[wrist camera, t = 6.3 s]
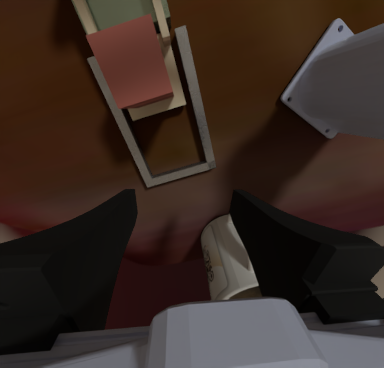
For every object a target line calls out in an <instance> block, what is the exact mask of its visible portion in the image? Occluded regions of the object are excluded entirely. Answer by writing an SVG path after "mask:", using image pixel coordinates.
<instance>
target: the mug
mask: <svg viewBox="0 0 384 368" xmlns="http://www.w3.org/2000/svg"><path fill="white" fill-rule="evenodd" d="M201 245H202V250H203V256H204V261H205V267H206V272H207V278H208V283H209V289H210V294H211V300H227V299H241V298H255V297H262V295H261V292H260V288H259V285H258V282H257V279H256V276H255V273H254V270H253V267H252V264H251V262H250V259H249V256H248V254H247V251H246V249H245V247H244V245H243V243H242V241H241V239H240V237H239V235H238V233H237V231H236V229H235V227H234V225H233V222H232V219H231V216H230V213H229V214H228V215H224V216H221V217H218V218H216V219H214V220H213V221H211V222H210V223H209V224H208V225H207V226H206V227H205V229H204V230H203V232H202V235H201Z"/></svg>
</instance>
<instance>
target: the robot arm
mask: <svg viewBox="0 0 384 368" xmlns="http://www.w3.org/2000/svg"><path fill="white" fill-rule="evenodd" d="M338 28H339V32H338ZM288 98H290V100H289V101H287V99H288ZM280 99H281V101H282V102H283V103H284V104H285V105H287V106H288V107H289V108H290V109H292V110H293V111H294V112H295V113H297V114H298V115H299V116H300V117H302V118H303V119H304V120H305V121H307V122H308V123H309V124H310V125H312V126H313V127H314V128H315V129H317V130H318V131H319V132H320V133H322V134H323V135H324V136H325V137H327V138H330V139H331V138H333V137H334V136H335V135H336V134H337V133H338V132H340V133H346V134H352V135H358V136H365V137H371V138H377V139H383V140H384V23H383V24H381V25H378V26H376V27H373V28H371V29H368V30H366V31H363V32H361V33H358V34H356V35H354V34H353V33H352V32H351V30H350V29H349V28H348V27H347V26H346V24H345V23H344V22H343V21H342V20H341V19H340V18H338V19H336V20H334V21H333V22H332V23H331V24H330V26H329V27H328V29H327V30H326V31H325V33H324V34H323V36H322V37H321V39H320V40H319V42H318V43H317V44H316V46H315V47H314V49H313V50H312V52H311V53H310V55H309V56H308V57H307V59H306V60H305V62H304V63H303V65H302V66H301V68H300V69H299V70H298V72H297V73H296V75H295V76H294V78H293V79H292V80H291V82H290V83H289V85H288V86H287V88H286V89H285V91H284V92H283V93H282V95H281V98H280ZM326 129H327V131H326ZM325 131H326V132H325ZM229 213H230V216H231V219H232V222H233V225H234V227H235V229H236V231H237V233H238V235H239V237H240V239H241V241H242V243H243V245H244V247H245V249H246V251H247V254H248V256H249V259H250V262H251V264H252V267H253V270H254V273H255V276H256V279H257V282H258V285H259V288H260V292H261V295H262V297H255V298H241V299H227V300H212V301H198V302H187V303H182V304H178V305H173V306H169V307H168V308H166V309H164V310H163V311H161V312H160V313H158V314H157V315H156V316H155V317H154V318H153V320H152V323H151V325H150V326H146V327H133V328H122V329H110V330H104V329H105V324H106V319H107V315H108V310H109V306H110V301H111V298H112V293H113V289H114V286H115V282H116V278H117V274H118V270H119V267H120V263H121V260H122V257H123V254H124V251H125V249H126V246H127V244H128V241H129V239H130V236H131V234H132V231H133V228H134V226H135V222H136V218H137V214H138V212H137V204H136V196H135V189H125V190H123V191H121V192H120V193H118V194H117V195H115V196H114V197H112V198H110V199H109V200H107V201H106V202H104V203H102V204H101V205H99V206H97V207H95V208H94V209H92V210H90V211H88V212H86V213H84V214H82V215H80V216H78V217H76V218H74V219H72V220H69V221H67V222H64V223H62V224H59V225H57V226H54V227H52V228H49V229H46V230H43V231H40V232H38V233H35V234H31V235H28V236H25V237H22V238H19V239H15V240H11V241H8V242H4V243H0V368H384V298H383V299H382V298H381V297H380V296H379V295H378V294H377V293H375V291H377V290H378V288H377V286H376V285H375V284H373V283H372V282H371V281H370V280H371V279H372V278H373V277H374V275H375V274H376V273H377V272H378V271H379V270H380V269H381V268H382V267H383V265H384V248H383V247H382V246H380V245H379V244H377V243H376V242H375V241H373V240H371V239H370V238H368V237H365V236H361V235H356V234H352V233H348V232H344V231H339V230H336V229H332V228H328V227H325V226H321V225H318V224H315V223H312V222H309V221H306V220H303V219H300V218H298V217H295V216H293V215H290V214H288V213H286V212H283V211H281V210H279V209H277V208H275V207H273V206H271V205H269V204H267V203H265V202H264V201H262V200H260V199H258V198H257V197H255V196H253V195H251V194H249V193H248V192H246V191H244V190H234V191H233V196H232V201H231V206H230V211H229Z"/></svg>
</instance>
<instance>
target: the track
mask: <svg viewBox="0 0 384 368" xmlns="http://www.w3.org/2000/svg"><path fill="white" fill-rule="evenodd" d="M71 1H72V3H73V5H74V7H75V10H76V12H77V14H78V16H79V19H80V21H81V23H82V25H83V28H84V30H85V32H86V34H87V35H88V33H87V30H86V28H85V26H84V23H83V21H82V19H81V17H80V14H79V12H78V10H77V8H76V5H75V3H74V1H73V0H71ZM85 1H86V3H87V5H88V8H89V10H90V13H91V15H92V17H93V20H94V22H95V25H96V27H97V30H98V31H101V30H104V29H107V28H109V27H112V26H115V25H118V24H121V23H124V22H127V21H130V20H133V19H136V18H139V17H142V16H145V15H148V14H151V17H152V20H153V24H154V27H155V31H156V32H159V31H160V28H159V24H158V20H157V17H156V13H155V9H154V6H153V2H152V0H85ZM161 3H162V7H163V11H164V15H165V19H166V23H167V26H168V28H171V19H170V13H169V9H168V5H167V1H166V0H161ZM175 37H176V41H177V45H178V49H179V53H180V57H181V61H182V65H183V69H184V73H185V77H186V82H187V86H188V90H189V94H190V98H191V102H192V106H193V110H194V114H195V118H196V122H197V126H198V131H199V135H200V139H201V143H202V147H203V151H204V155H205V159H206V160H205V161H201V162H198V163H195V164H191V165H188V166H184V167H181V168H178V169H174V170H171V171H167V172H164V173H161V174H157V175H154V176H153V175H152V173H151V171H150V168H149V166H148V164H147V161H146V159H145V157H144V154H143V152H142V150H141V147H140V145H139V143H138V141H137V138H136V136H135V134H134V131H133V129H132V127H131V124H130V122H129V120H128V117H127V115H126V113H125V111H124V109H118V107H117V105H116V102H115V100H114V98H113V96H112V93H111V91H110V89H109V87H108V85H107V82H106V80H105V78H104V76H103V73H102V71H101V69H100V67H99V64H98V62H97V60H96V58H95V56H93V57H90V58H87V60H88V62H89V64H90V66H91V68H92V71H93V73H94V75H95V77H96V79H97V81H98V83H99V86H100V88H101V90H102V92H103V94H104V96H105V98H106V100H107V103H108V105H109V107H110V109H111V111H112V113H113V115H114V117H115V120H116V122H117V124H118V126H119V128H120V130H121V132H122V134H123V137H124V139H125V141H126V143H127V145H128V147H129V149H130V152H131V154H132V156H133V158H134V160H135V162H136V164H137V166H138V169H139V171H140V173H141V175H142V177H143V179H144V181H145V183H146V186H147V188H148V187H151V186H154V185H158V184H161V183H165V182H168V181H172V180H175V179H178V178H182V177H185V176H189V175H192V174H196V173H199V172H203V171H206V170H209V169H213V168H216V164H215V159H214V155H213V150H212V146H211V141H210V136H209V132H208V127H207V123H206V118H205V113H204V109H203V104H202V99H201V95H200V90H199V86H198V81H197V76H196V72H195V67H194V63H193V58H192V53H191V49H190V44H189V40H188V35H187V30H186V26H182V27H179V28H176V29H175Z"/></svg>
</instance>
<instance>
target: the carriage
mask: <svg viewBox="0 0 384 368" xmlns="http://www.w3.org/2000/svg"><path fill="white" fill-rule="evenodd" d="M73 1H74V3H75V5H76V8H77V10H78V12H79V14H80V17H81V19H82V21H83V23H84V26H85V28H86V30H87V33H88V35H86V38H87V40H88V42H89V44H90V47H91V49H92V51H93V53H94V56H95V58H96V60H97V62H98V64H99V67H100V69H101V71H102V73H103V76H104V78H105V80H106V82H107V85H108V87H109V89H110V91H111V93H112V96H113V98H114V100H115V102H116V105H117V107H118V109H128V111H129V113H130V116H131V118H132V120H133V121H134V120H137V119H141V118H144V117H147V116H150V115H153V114H157V113H160V112H163V111H166V110H169V109H173V108H176V107H179V106H182V105H186V102H185V98H184V94H183V90H182V86H181V82H180V79H179V75H178V71H177V67H176V63H175V59H174V56H173V52H172V48H171V42H170V34H169V30H168V26H167V23H166V19H165V15H164V11H163V7H162V3H161V0H152V2H153V6H154V9H155V13H156V17H157V20H158V24H159V28H160V32H161V33H159V34H156V31H155V27H154V24H153V20H152V17H151V14H148V15H145V16H142V17H139V18H136V19H133V20H130V21H127V22H124V23H121V24H118V25H115V26H112V27H109V28H107V29H104V30H101V31H98V30H97V27H96V25H95V22H94V20H93V17H92V15H91V13H90V10H89V8H88V5H87V3H86V1H85V0H73Z"/></svg>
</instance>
